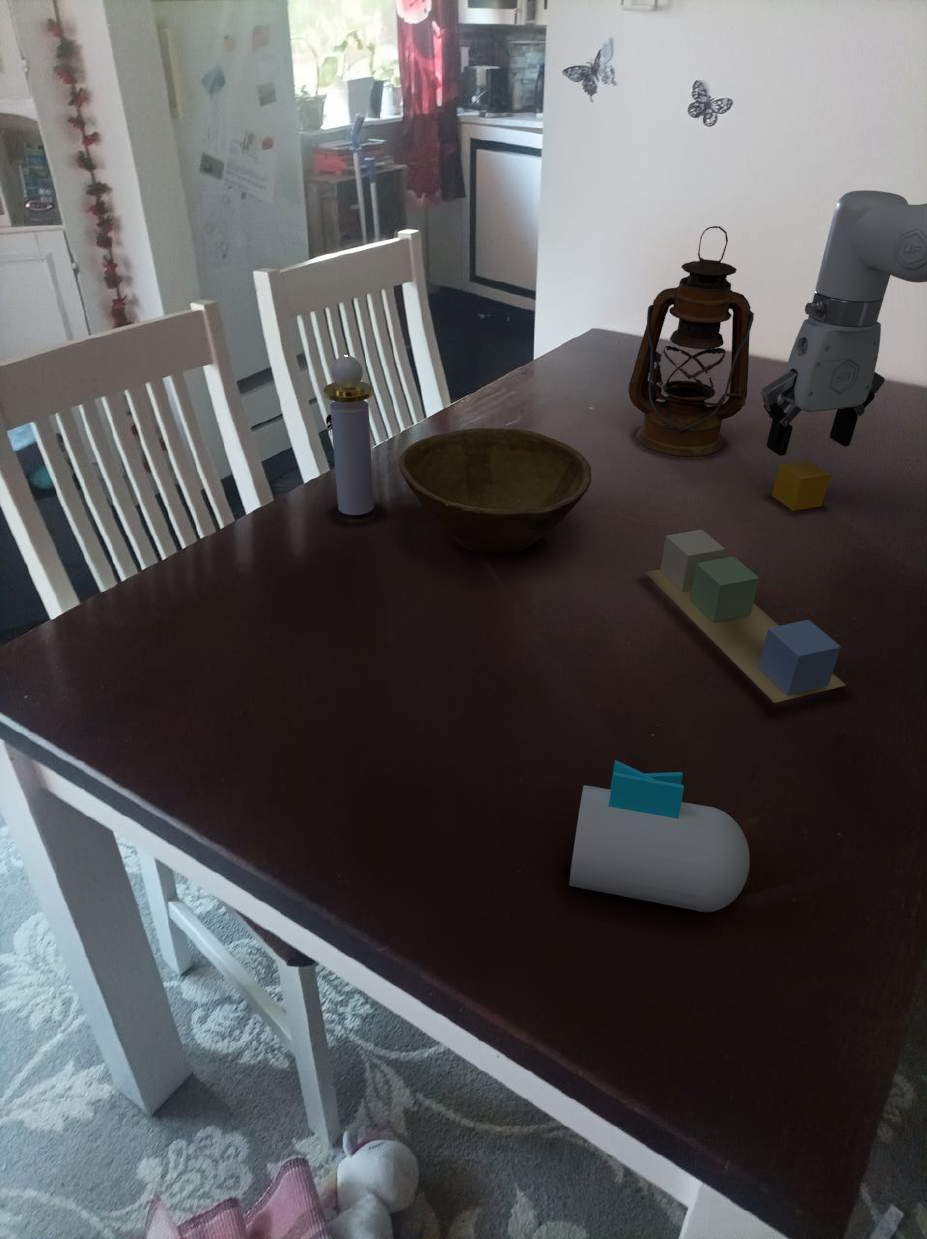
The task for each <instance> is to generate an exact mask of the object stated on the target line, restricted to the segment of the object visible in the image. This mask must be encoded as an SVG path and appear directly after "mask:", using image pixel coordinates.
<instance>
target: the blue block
mask: <svg viewBox="0 0 927 1239" xmlns="http://www.w3.org/2000/svg"><path fill="white" fill-rule="evenodd" d="M841 648H842V646H841V645H840V644H839V643H837V642H836V641H835V640H834V639H833V638H831V636H829V635H828V634H827V633H825V632H824V631H823V630H822V629H821V628H820V627H818V626H817V625H816V624H815V623H813V621H811V620H810V619H805V620H800V621H795V622H791V623H786V624H782V625H779V626H777V627H772V628H768V631H767V635H766V639H765V643H764V646H763V650H762V654H761V658H760V662H759V666H758V667H759V668H760V669H761V670H762V671H763V672H764V673H765V674H766V675H767V676H768V677H769V678H770V679H771V680H772V681H773V682H774V683H775V684H776V685H777V686H778V687H779V688H780V689H781V690H782V691H783V692H784V693H785V694H786V695H787V696H789V695H793V694H797V693H801V692H805V691H809V690H813V689H818V688H822V687H826V686H828V685H829V682H830V679H831V676H832V673H833V674H834V670H835V666H836V664H837V661H838V658H839V654H840V651H841Z"/></svg>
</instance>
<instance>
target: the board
mask: <svg viewBox="0 0 927 1239" xmlns="http://www.w3.org/2000/svg"><path fill="white" fill-rule="evenodd" d="M660 569H661V568H660ZM660 569H654V570H649V571H645V572H644V573H645V575H647V576H648V577H649V578H650V579H651V581H652V582H654V583H655V584H656V586H658V588H659V589H661V590H662V591H663V593H665V595H666V596H667V597H669V598H670V600H671V601H672V602H674V604H676V605H677V607H678V608H679V609H681V610H682V612H683V613H684V614H685V615H686V616H687V617H688V618H689V619H690V620H691V621H692V622H693V623H694V624H696V626H697V627H698V628H699V629H700V630H701V631H702V632H703V633H704V634H705V635H706V636H707V637H709V639H710V640H711V641H712V642H713V643H714V644H715V645H716V646H717V647H718V648H719V649H720V650H721V651H722V652H723V653H724V654H725V656H727V657H728V658H729V659H730V660H731V661H732V662H733V663H734V664H735V665H736V666H737V667H738V668H739V669H740V670H741V671H742V672H743V674H745V675H746V676H747V677H748V678H749V679H750V680H751V681H752V682H753V683H754V684H755V686H757V687H758V688H759V689H760V690H761V691H762V692H763V693H764V695H766V696H767V697H768V698H769V699H770V700H771V701H772V703H774V704H776V703H780V702H784V701H785V702H786V701H788V700H793V699H797V698H801V697H804V696H809V695H813V694H818V693H821V692H822V693H823V692H825V691H830V690H833V689H834V690H835V689H837V688H842V687H846V685H847V684H846V683H844V681H843V680H841V679H840V678H839V677H838V676H836V674H835V673H834V672H833V673H832V676H831V679H830V682H829V685H828V686H826V687H822V688H818V689H813V690H809V691H805V692H801V693H797V694H793V695H789V696H787V695H786V694H785V693H784V692H783V691H782V690H781V689H780V688H779V687H778V686H777V685H776V684H775V683H774V682H773V681H772V680H771V679H770V678H769V677H768V676H767V675H766V674H765V673H764V672H763V671H762V670H761V669H760V668H759V667H758V666H759V662H760V658H761V654H762V650H763V646H764V643H765V639H766V635H767V631H768V628H772V627H777V626H780V625H779V624H778V623H777V622H776V621H774V620H773V619H772V618H771V617H770V616H769V614H767V613H766V612H764V610H762V609H761V608H760V607H759V606H758V605H757V604H756V603H755V602H754V603H753V607H752V611H751V615H748V616H743V617H738V618H734V619H729V620H724V621H719V622H714V623H713V622H712V621H711V620H710V619H709V618H708V617H707V616H706V615H704V614H703V613H702V612H701V611H700V610H699V609H698V608H697V607H696V606H695V605H694V604H693V603H692V602H691V601H690V594H691V590H688V591H683V592H681V591H680V590H679V589H678V588H677V587H676V586H675V585H674V584H673V583H672V582H671V581H670V580H669V579H668V578H667V577H666V576H665V575H664V574H663V573H662V572H661V571H660Z"/></svg>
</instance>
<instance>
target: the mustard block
mask: <svg viewBox="0 0 927 1239" xmlns="http://www.w3.org/2000/svg"><path fill="white" fill-rule="evenodd" d="M831 476H832V474H831V473H830V472H829V471H826V470H825V469H823V468H822V467H820V466H818V465H817V464H815V463H814V462H812V461H811V460H810V459H807V460H800V461H794V462H787V463H781V464H778V468H777V472H776V476H775V481H774V485H773V488H772V493H771V497H773V498H774V499H775V500H776V501H778V502H780V503H781V504H783V505H784V506H785V507H787V508H788V509H789V510H791V511H792V512H796V511H801V510H807V509H808V510H809V509H815V508H819V507H820V508H821V507H823V504H824V501H825V499H826V498H825V497H826V493H827V489H828V487H829V483H830V479H831Z"/></svg>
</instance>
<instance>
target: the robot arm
mask: <svg viewBox="0 0 927 1239" xmlns="http://www.w3.org/2000/svg"><path fill="white" fill-rule="evenodd" d="M891 276H892V277H894V278H897V279H900V280H901V281H902V280H903V281H906V282H910V283H919V284H920V283H927V203H921V204H909V202H908V201H907V199H906V198H905V197H904V196H902V195H900V194H897V193H893V192H888V191H883V190H882V191H881V190H872V189H871V190H870V189H869V190H868V189H867V190H866V189H864V190H852V191H848V192H846V193H844V194H843V195H842V196H841V197H840V198H839V199H838V200H837V203H836V204H835V207H834V211H833V214H832V219H831V223H830V228H829V231H828V234H827V239H826V243H825V248H824V251H823V255H822V260H821V264H820V268H819V271H818V276H817V280H816V284H815V288H814V291H813V296H812V300H811V302H807V303H806V304H805V307H804V312H805V314H806V315H808V317H807V318H806V319H804V320H803V322H802V323H801V325H800V328H799V331H798V333H797V334H796V335H797V336H796V338H795V340H794V344H793V346H792V349H791V351H790V354H789V357H788V361H787V363H786V367H785V371H784V374H783V375H781V376H780V377H778V378H777V379H775V380H773V381H772V382H771V383H769V384H767V385H766V386H764V387H762V389H761V391H760V392H761V393H760V394H761V397H762V401H763V409H764V410H765V411H766V413H767V414H768V417H769V418H770V419H772V420H771V425H770V428H769V432H768V436H767V441H766V447H767V449H769V450H770V451H772V453H775V454H776V455H778V456H779V457H782V456H783V457H784V456H786V454H787V452H788V449H789V444H790V441H791V436H792V433H793V425H792V424H791V422H792V421H793V420H794V419H795V418H796V417H797V416H798V415H799V413H801V411H803V412H804V413H817V412H818V413H819V412H825V411H826V412H827V411H832V410H833V411H835V410H836V412H835V415H834V419H833V422H832V426H831V429H830V433H829V438H830V440H832V441H834V442H835V443H837V444H838V445H840V446H843V447H844V448H846V447H849V446H850V445H851V442H852V438H853V435H854V432H855V429H856V426H857V423H858V419H859V417H861V416H863V415H864V414H865V410H866V408H867V407H868V406H869V405H870V404H871V402H873V401H874V399H875V397H876V394H877V393H878V391H879V390H880V389H881V387H883V386H882V385H883V384H884V383H885V381H886V380H885V379H886V378H885V377H884V376H883V375H880V374H879V373H877V372H876V367H877V363H878V359H879V351H880V346H881V336H882V335H881V334H882V323H881V322H879V321H878V319H879V316H880V312H881V309H882V306H883V302H884V299H885V295H886V292H887V288H888V285H889V283H890V282H889V281H890V279H891ZM779 396H780V398H781V399H780V400H779ZM789 406H790V407H789ZM788 407H789V408H788ZM787 408H788V410H787V411H786V412H785V410H786V409H787Z"/></svg>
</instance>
